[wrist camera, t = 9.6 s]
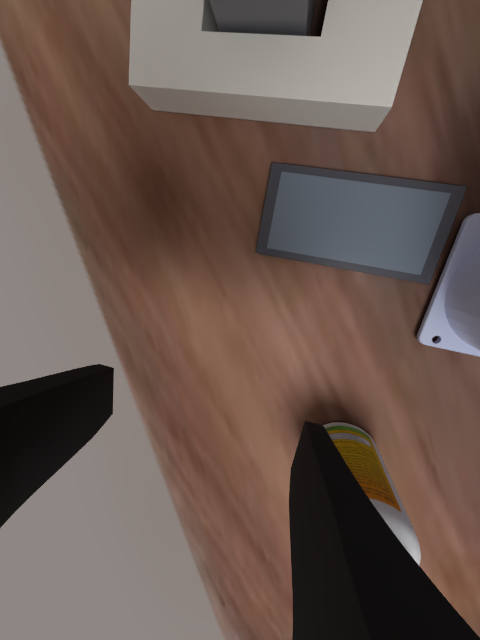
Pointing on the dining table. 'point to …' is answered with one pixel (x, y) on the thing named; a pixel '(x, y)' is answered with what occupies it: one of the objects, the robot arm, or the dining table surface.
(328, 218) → the phone slab
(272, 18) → the block
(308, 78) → the outlet plate
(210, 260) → the dining table surface
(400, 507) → the supplement bottle
